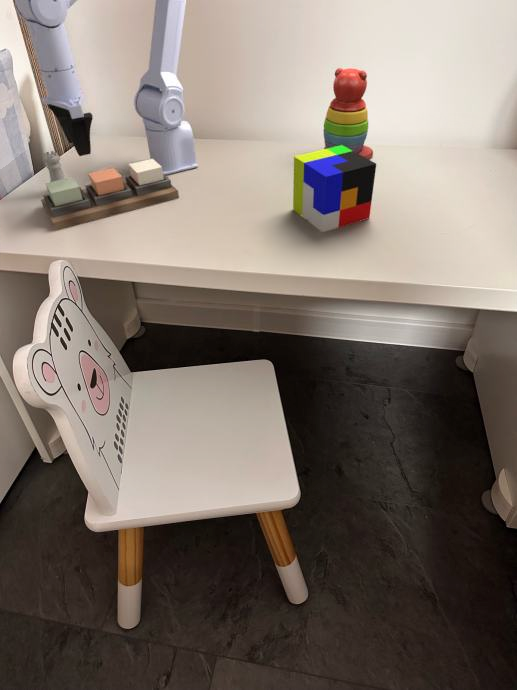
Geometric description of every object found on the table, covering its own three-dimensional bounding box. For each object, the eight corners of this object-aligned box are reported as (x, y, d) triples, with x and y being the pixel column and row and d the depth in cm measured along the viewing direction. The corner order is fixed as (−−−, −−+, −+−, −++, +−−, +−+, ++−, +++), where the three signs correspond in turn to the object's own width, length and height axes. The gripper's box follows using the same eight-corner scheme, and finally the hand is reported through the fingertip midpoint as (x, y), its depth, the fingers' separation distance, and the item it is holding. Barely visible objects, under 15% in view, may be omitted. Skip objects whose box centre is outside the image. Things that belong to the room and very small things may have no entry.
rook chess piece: (66, 198, 99) (54, 158, 94) (46, 196, 100) (33, 157, 95) (77, 188, 103) (66, 149, 97) (57, 187, 103) (45, 148, 98)
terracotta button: (116, 180, 98) (113, 167, 96) (124, 189, 95) (121, 176, 93) (91, 186, 96) (88, 173, 95) (98, 195, 93) (95, 182, 91)
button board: (158, 178, 105) (156, 164, 103) (179, 197, 98) (176, 183, 96) (43, 206, 97) (38, 192, 95) (55, 230, 90) (50, 215, 88)
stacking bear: (375, 154, 112) (386, 65, 100) (357, 170, 105) (366, 77, 93) (332, 146, 116) (337, 60, 104) (311, 161, 110) (315, 71, 98)
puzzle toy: (322, 232, 86) (325, 176, 80) (293, 209, 93) (294, 156, 86) (369, 218, 89) (376, 163, 83) (337, 197, 96) (341, 145, 90)
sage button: (76, 189, 95) (72, 177, 93) (82, 199, 92) (79, 186, 90) (49, 196, 93) (45, 183, 92) (55, 206, 90) (51, 193, 88)
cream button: (154, 170, 101) (152, 158, 99) (163, 179, 97) (161, 167, 96) (131, 176, 99) (128, 164, 97) (139, 185, 96) (137, 172, 94)
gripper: (25, 62, 88) (50, 140, 97) (41, 81, 79) (67, 165, 88) (65, 56, 91) (86, 133, 100) (86, 73, 81) (106, 156, 90)
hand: (79, 148), depth 94 cm, fingers open, 7 cm apart
